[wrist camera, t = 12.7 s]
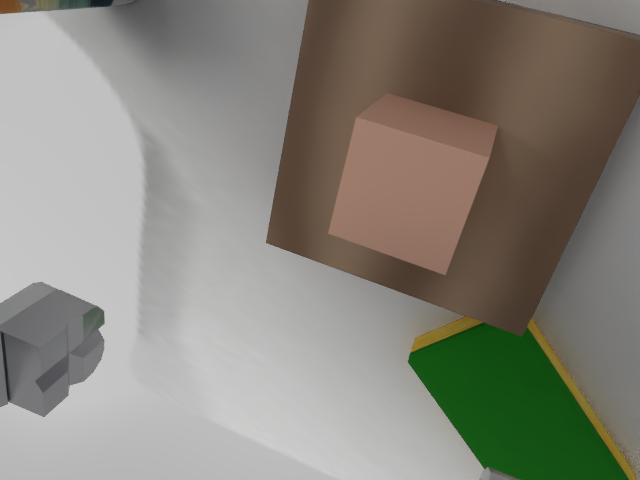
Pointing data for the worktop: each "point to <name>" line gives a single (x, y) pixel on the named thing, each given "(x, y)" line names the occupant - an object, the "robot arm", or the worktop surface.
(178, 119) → the worktop surface
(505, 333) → the dish sponge
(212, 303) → the worktop surface
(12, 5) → the lotion bottle
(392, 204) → the terracotta block
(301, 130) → the walnut plinth
